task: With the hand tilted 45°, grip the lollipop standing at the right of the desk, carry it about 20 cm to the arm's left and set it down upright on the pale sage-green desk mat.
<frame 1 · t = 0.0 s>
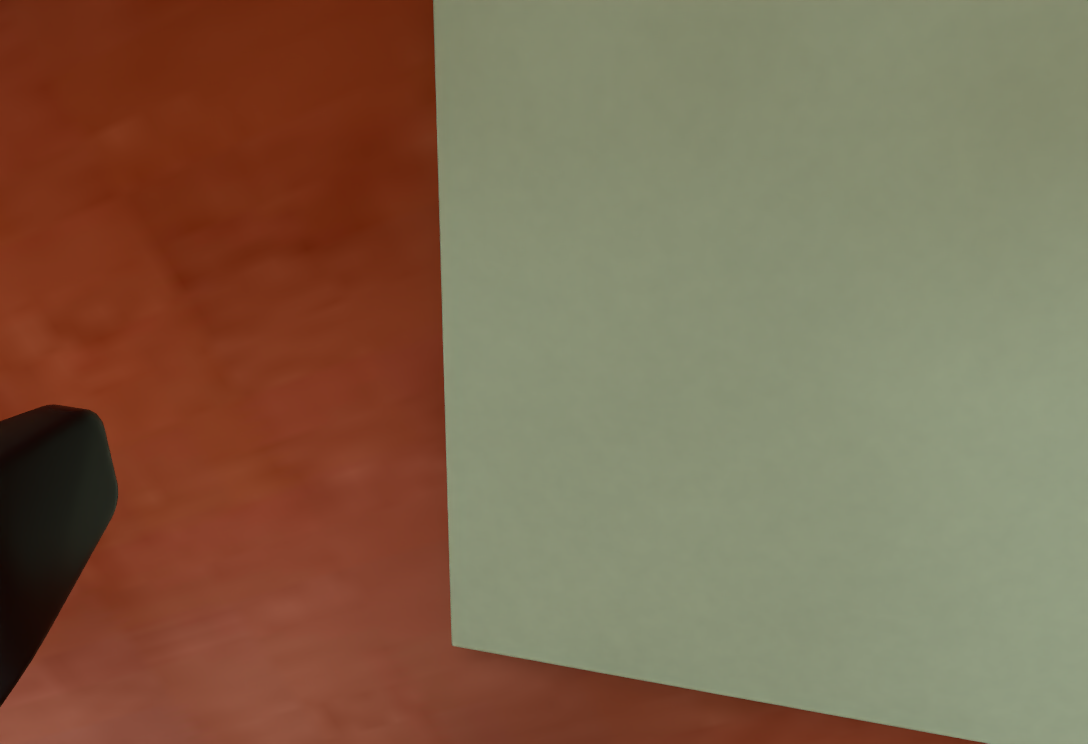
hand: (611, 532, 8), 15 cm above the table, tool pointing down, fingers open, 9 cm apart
desk mat: (824, 386, 24), on the table
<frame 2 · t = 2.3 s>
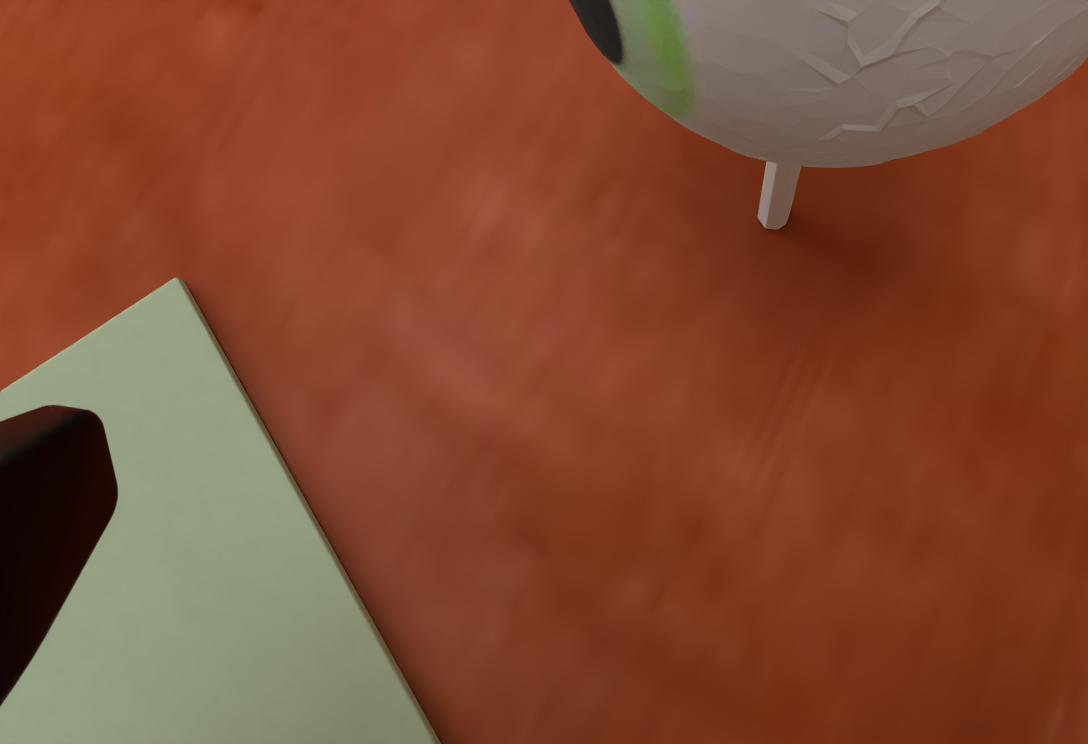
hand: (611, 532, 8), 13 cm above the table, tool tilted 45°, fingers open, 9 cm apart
lollipop: (773, 218, 23), on the table
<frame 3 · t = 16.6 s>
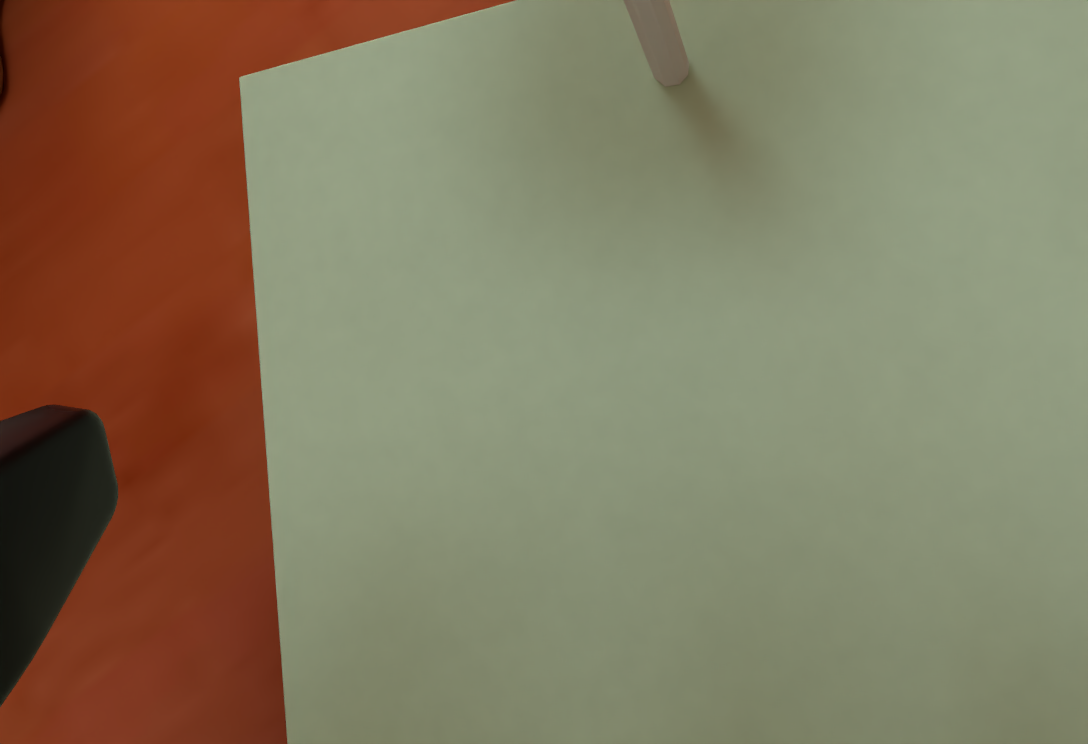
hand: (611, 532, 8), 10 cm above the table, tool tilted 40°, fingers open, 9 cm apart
lollipop: (673, 73, 19), resting on desk mat
desk mat: (744, 485, 18), on the table
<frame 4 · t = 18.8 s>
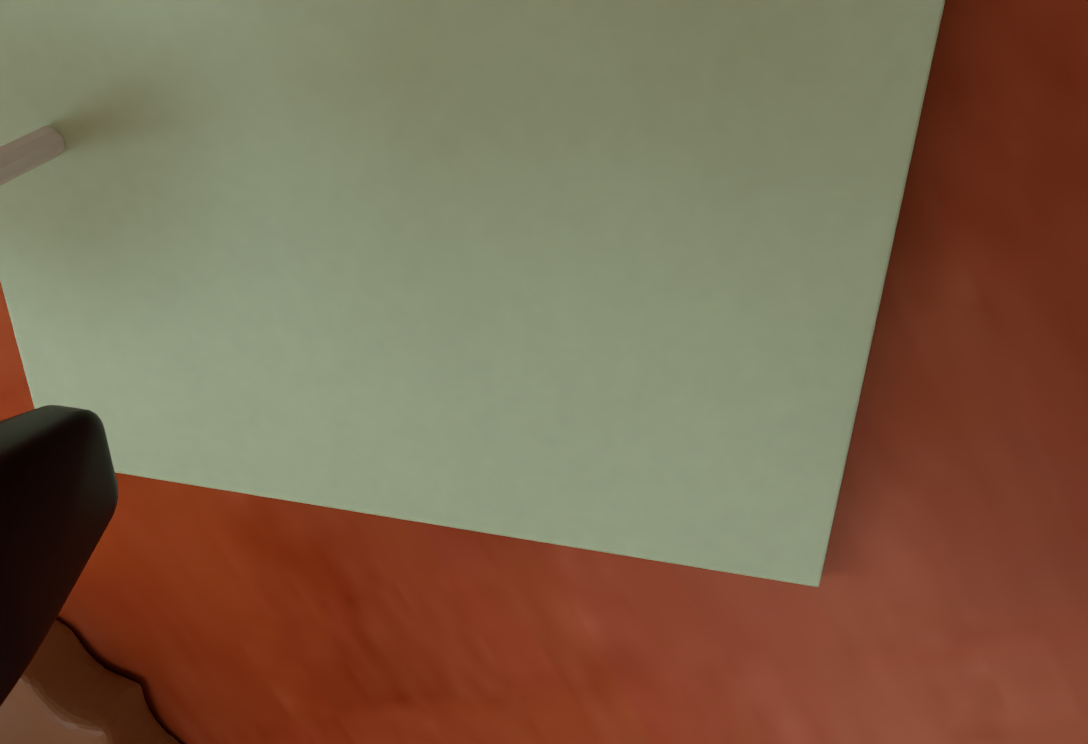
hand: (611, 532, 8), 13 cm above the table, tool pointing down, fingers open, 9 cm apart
lollipop: (55, 137, 23), resting on desk mat
desk mat: (396, 167, 21), on the table
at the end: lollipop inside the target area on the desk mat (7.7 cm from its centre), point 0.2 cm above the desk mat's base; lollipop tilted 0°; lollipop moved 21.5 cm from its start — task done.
